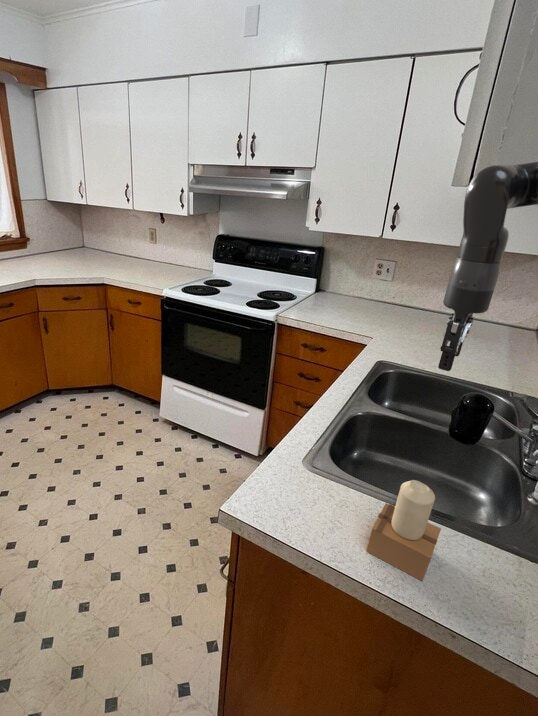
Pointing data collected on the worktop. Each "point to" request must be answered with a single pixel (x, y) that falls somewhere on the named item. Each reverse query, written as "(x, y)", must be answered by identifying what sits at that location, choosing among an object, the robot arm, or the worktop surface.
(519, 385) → the worktop surface
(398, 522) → the candle
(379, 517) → the cardboard box
